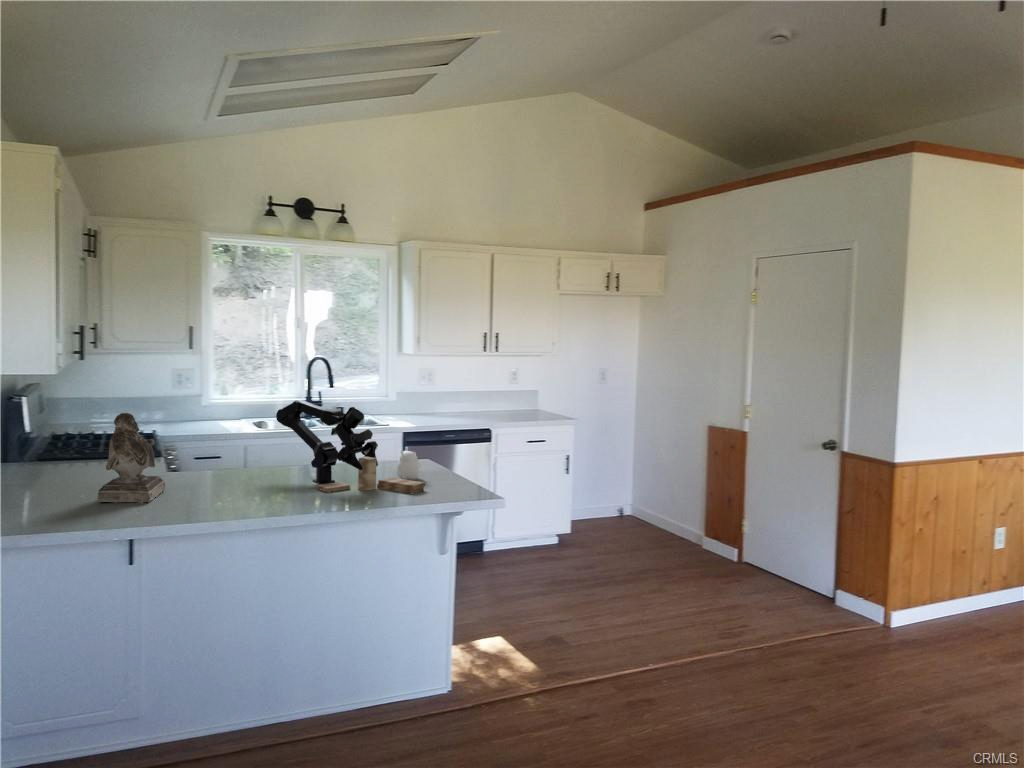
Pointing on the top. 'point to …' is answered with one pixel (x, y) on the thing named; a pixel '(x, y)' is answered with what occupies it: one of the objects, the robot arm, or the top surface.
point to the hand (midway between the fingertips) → (369, 467)
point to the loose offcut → (333, 486)
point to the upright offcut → (367, 473)
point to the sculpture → (130, 465)
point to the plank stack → (400, 485)
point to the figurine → (408, 466)
